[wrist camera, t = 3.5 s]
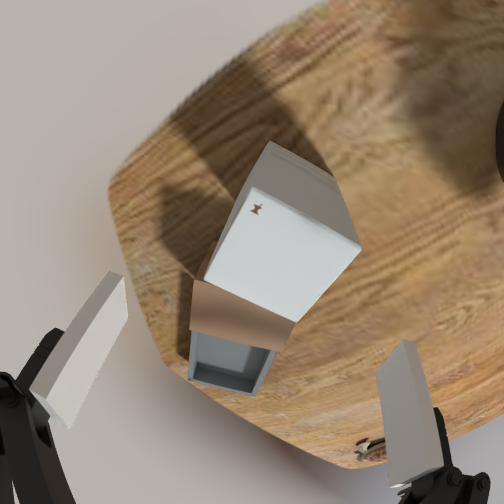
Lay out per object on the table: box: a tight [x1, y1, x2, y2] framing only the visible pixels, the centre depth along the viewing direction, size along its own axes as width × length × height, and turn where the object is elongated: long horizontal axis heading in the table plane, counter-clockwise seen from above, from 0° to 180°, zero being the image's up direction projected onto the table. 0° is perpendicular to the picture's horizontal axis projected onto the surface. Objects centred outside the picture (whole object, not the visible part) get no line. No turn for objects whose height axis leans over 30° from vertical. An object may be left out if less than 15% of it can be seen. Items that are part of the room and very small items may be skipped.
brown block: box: [189, 240, 296, 352], centre depth 31 cm, size 7×10×7 cm
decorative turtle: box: [357, 441, 387, 462], centre depth 57 cm, size 18×17×5 cm
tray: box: [188, 331, 277, 396], centre depth 39 cm, size 17×11×3 cm, turn 168°
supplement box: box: [204, 141, 362, 322], centre depth 22 cm, size 7×7×13 cm
